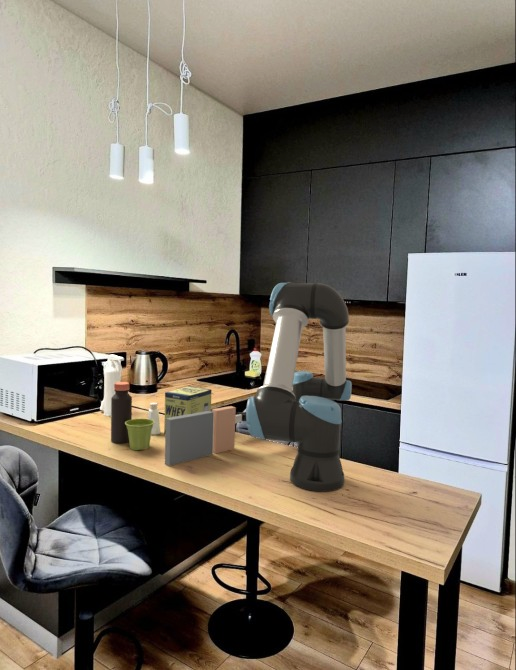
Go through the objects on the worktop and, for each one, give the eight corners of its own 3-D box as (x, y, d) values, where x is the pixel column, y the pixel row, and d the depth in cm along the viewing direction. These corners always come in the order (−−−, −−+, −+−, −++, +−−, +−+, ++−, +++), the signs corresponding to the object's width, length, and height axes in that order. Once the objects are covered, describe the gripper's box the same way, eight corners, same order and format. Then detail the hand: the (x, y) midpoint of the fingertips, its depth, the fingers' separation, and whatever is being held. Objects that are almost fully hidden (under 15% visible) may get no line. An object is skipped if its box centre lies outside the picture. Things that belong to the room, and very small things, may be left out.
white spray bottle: (107, 409, 206) (108, 352, 203) (126, 415, 199) (127, 355, 196) (94, 412, 200) (95, 353, 197) (113, 418, 194) (114, 357, 191)
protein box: (163, 434, 174) (164, 392, 173) (188, 424, 188) (189, 385, 186) (186, 439, 169) (187, 395, 168) (211, 429, 183) (212, 388, 182)
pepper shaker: (148, 435, 171) (149, 405, 170) (143, 431, 176) (144, 402, 175) (162, 433, 174) (163, 404, 173) (157, 430, 179) (158, 400, 178)
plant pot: (118, 449, 156) (118, 423, 155) (137, 441, 164) (137, 416, 164) (141, 454, 152) (141, 427, 151) (159, 446, 160) (160, 420, 160)
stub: (229, 447, 161) (230, 406, 160) (234, 448, 159) (235, 407, 158) (210, 451, 156) (211, 409, 154) (215, 453, 154) (216, 410, 153)
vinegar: (112, 444, 160) (112, 385, 159) (109, 438, 166) (110, 381, 165) (132, 442, 163) (133, 384, 161) (129, 436, 169) (130, 380, 168)
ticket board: (207, 453, 155) (209, 410, 154) (213, 455, 153) (214, 412, 152) (164, 463, 144) (165, 418, 143) (169, 466, 142) (170, 420, 141)
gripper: (308, 434, 168) (264, 445, 153) (260, 418, 186) (216, 427, 172) (309, 413, 167) (265, 422, 153) (260, 399, 185) (217, 407, 171)
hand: (239, 425), depth 162 cm, fingers open, 13 cm apart
